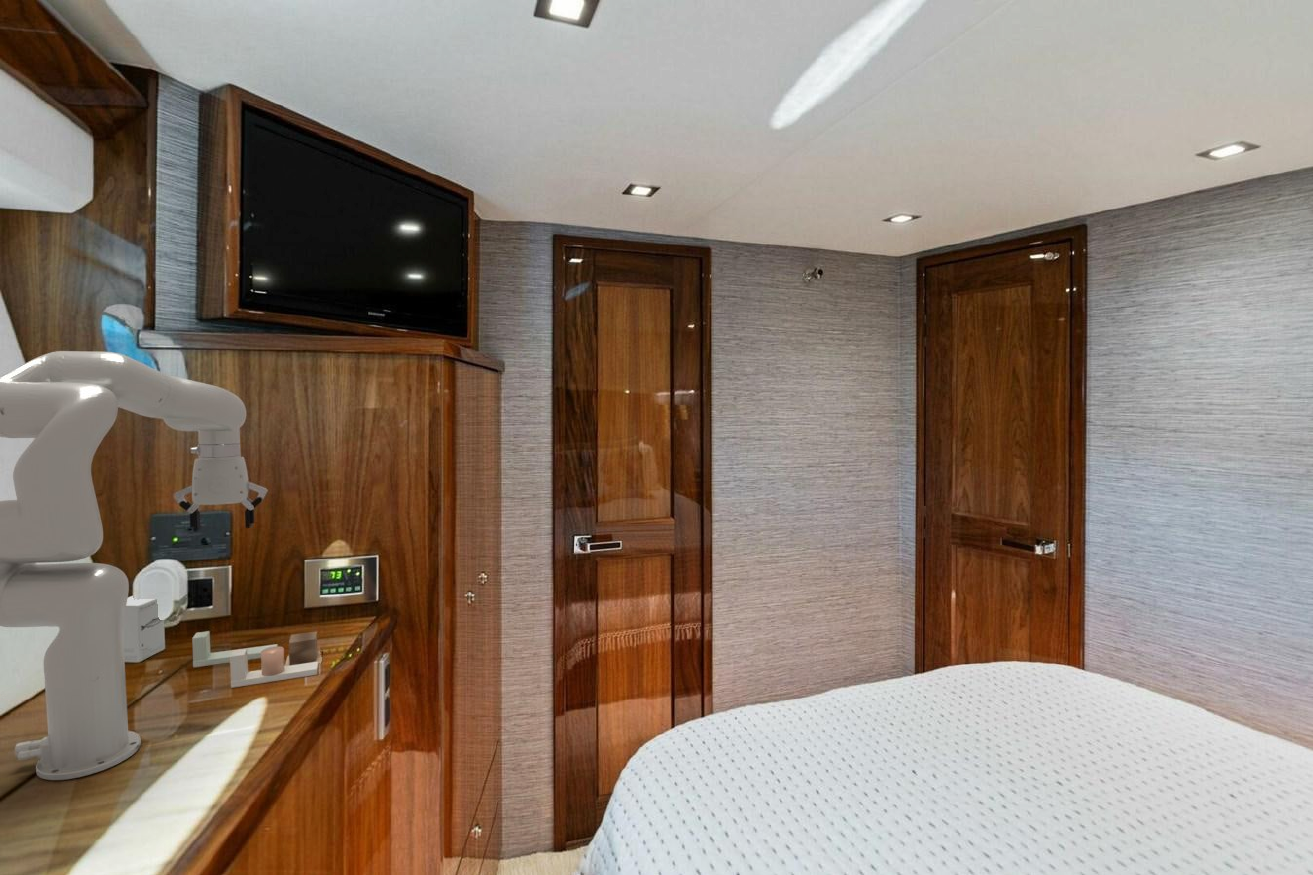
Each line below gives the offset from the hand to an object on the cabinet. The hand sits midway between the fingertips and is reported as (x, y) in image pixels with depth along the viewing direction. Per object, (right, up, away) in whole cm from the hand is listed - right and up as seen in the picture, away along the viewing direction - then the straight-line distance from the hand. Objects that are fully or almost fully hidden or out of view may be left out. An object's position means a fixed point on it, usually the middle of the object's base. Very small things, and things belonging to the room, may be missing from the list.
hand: (223, 528), depth 142 cm
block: (+19, -28, -3) cm, 34 cm away
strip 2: (+18, -29, -11) cm, 36 cm away
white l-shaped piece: (+4, -28, -2) cm, 28 cm away
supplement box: (-19, -29, 0) cm, 34 cm away
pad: (+20, -28, -3) cm, 35 cm away
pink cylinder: (+18, -28, -11) cm, 35 cm away
